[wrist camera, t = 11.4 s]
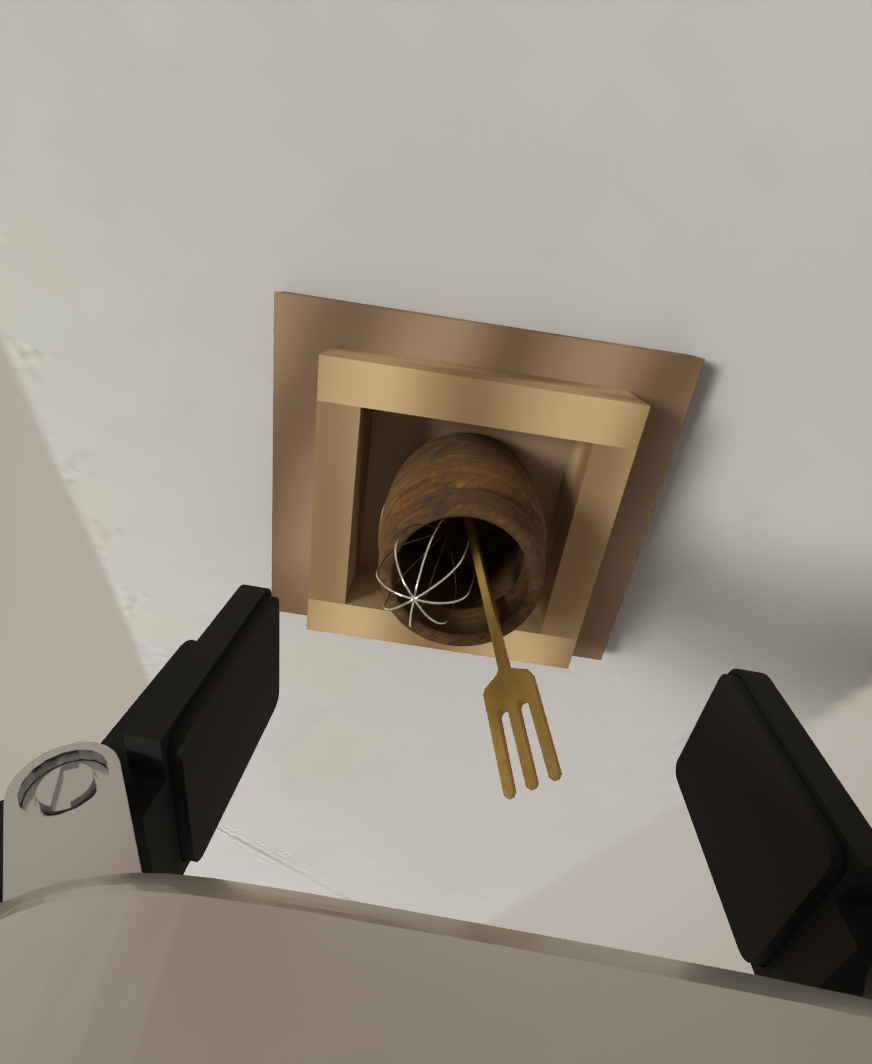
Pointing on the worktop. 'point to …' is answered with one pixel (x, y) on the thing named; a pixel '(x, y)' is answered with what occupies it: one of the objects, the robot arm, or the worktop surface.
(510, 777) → the utensil holder
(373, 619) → the socket board
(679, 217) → the worktop surface
